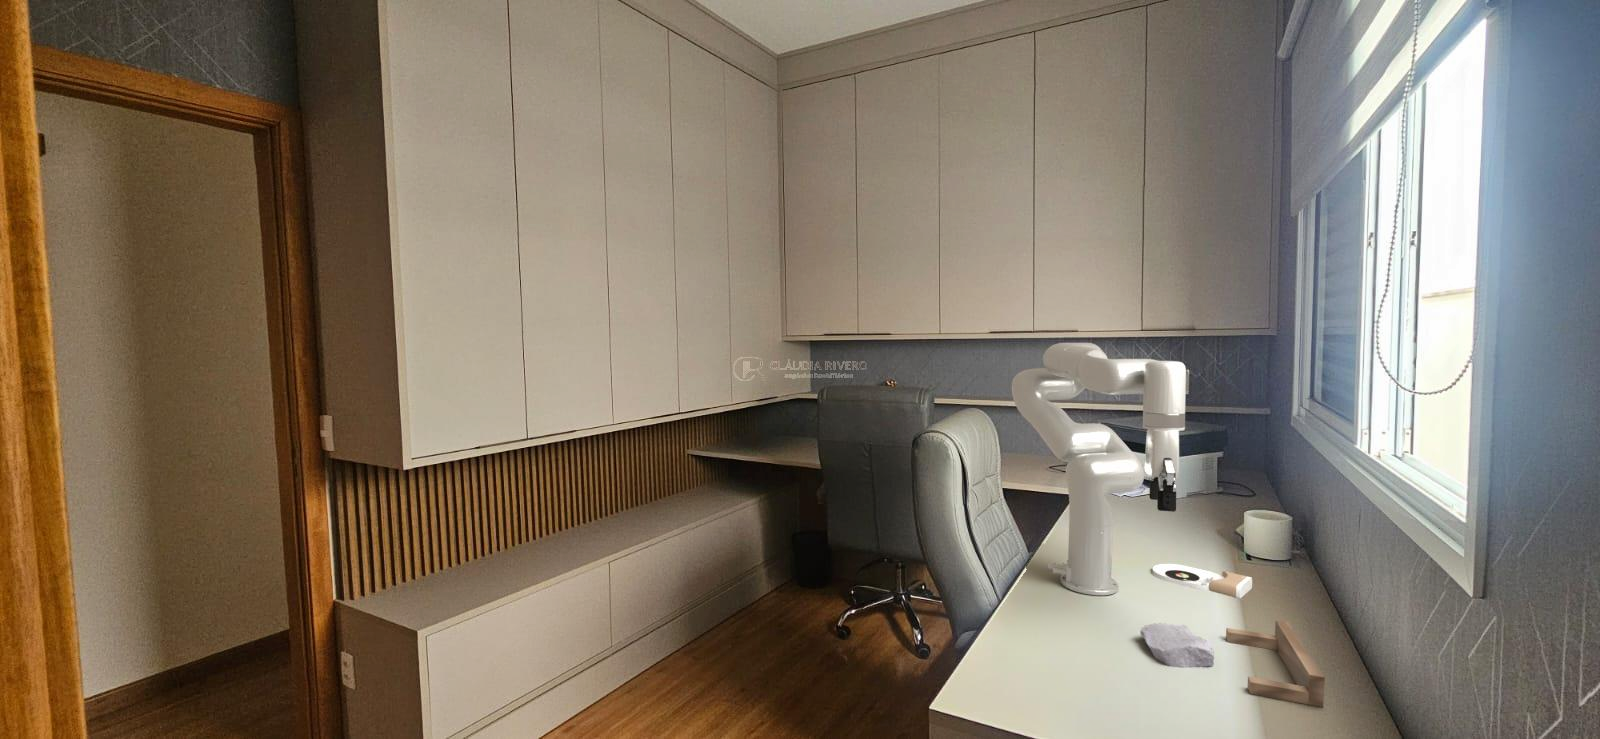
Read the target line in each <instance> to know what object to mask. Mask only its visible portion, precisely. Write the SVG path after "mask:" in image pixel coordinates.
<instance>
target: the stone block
mask: <svg viewBox="0 0 1600 739" xmlns="http://www.w3.org/2000/svg"><path fill="white" fill-rule="evenodd" d="M1139 630H1140V635H1141V636H1142V638H1143V639H1144V642H1145V643H1146V645H1147V646H1148V648H1149V650H1150V652H1151V653H1152V655H1153V657H1154V658H1155V659H1156V660H1157V661H1160V662H1161V663H1163V664H1165V665H1167V666H1169V667H1173V668H1182V669H1183V668H1184V669H1186V668H1194V667H1195V668H1204V667H1206V668H1208V667H1209V668H1211V667H1213V666H1214V665H1215V662H1214V661H1215V651H1214V648H1213V646H1212V645H1211V644H1210V642H1209V641H1207V640H1206V639H1205V638H1203V637H1202V636H1197V635H1196V634H1194V633H1193V632H1192V631H1190V629H1189V626H1187V625H1185V624H1181V625H1179V624H1177V625H1176V624H1173V623H1172V624H1171V623H1165V622H1162V623H1161V622H1158V623H1157V622H1155V623H1151V624H1147V625H1144V626H1142V627H1141V628H1140V629H1139Z"/></svg>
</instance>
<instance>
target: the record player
mask: <svg viewBox="0 0 1600 739" xmlns="http://www.w3.org/2000/svg"><path fill="white" fill-rule="evenodd" d="M1152 575H1153V576H1155V578H1158V579H1160V580H1162V581H1165V582H1169V583H1172V584H1176V585H1179V586H1182V587H1186V588H1190V589H1191V588H1192V589H1196V590H1200V591H1210V592H1213V593H1218V594H1220V595H1221V594H1222V595H1225V596H1228V597H1233V598H1236V599H1242V597H1244V596H1246V594H1247V593H1248V592H1249V591H1251V589H1253V588H1252V587H1253V577H1250V576H1247V575H1243V574H1238V573H1234V572H1230V571H1226V570H1225V571H1224V570H1223V571H1222V572H1221V575H1220V574H1218V573H1216V572H1213V571H1210V570H1204V569H1200V568H1196V567H1193V566H1192V567H1191V566H1188V565H1184V564H1183V565H1182V564H1176V563H1160V564H1156V565H1154V566H1153V567H1152Z"/></svg>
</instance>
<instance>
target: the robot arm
mask: <svg viewBox="0 0 1600 739" xmlns="http://www.w3.org/2000/svg"><path fill="white" fill-rule="evenodd" d="M1042 361H1043V365H1044V368H1041V367H1039V368H1038V367H1036V368H1029V369H1025V370H1024V369H1023V370H1022V371H1020V372H1018V373H1017V374H1015V375H1014V377H1013V379H1012V382H1011V395H1012V398H1013V399H1012V400H1013V402H1014V405H1015V407H1016V409H1017V411H1018V412H1019V413H1020V415H1021V416H1022V417H1023V418H1024V419H1026V421H1027V422H1028V423H1029V424H1030V425H1031V427H1033V428H1034V429H1035V431H1037V433H1038V435H1039V436H1040V437H1041V439H1042V440H1043V441H1044V443H1045V444H1046V446H1047V447H1048V448H1049V450H1051V453H1053V455H1054V456H1055V457H1056V458H1057V459H1058V460H1060V461H1061V462H1064V463H1067V465H1066V468H1065V479H1066V480H1065V481H1066V484H1067V491H1068V498H1069V499H1068V502H1069V504H1068V505H1069V506H1068V508H1069V509H1068V510H1069V511H1068V512H1069V513H1068V546H1067V547H1068V552H1067V555H1068V557H1067V560H1066V563H1065V562H1064V563H1063V562H1062V563H1056V562H1048V564H1047V570H1048V571H1052V574H1053V575H1061V576H1060V583H1061V585H1062V586H1064V587H1065V588H1067V589H1069V590H1071V591H1074V592H1076V593H1080V594H1083V595H1084V594H1085V595H1091V596H1108V595H1114V594H1116V593H1117V592H1118V591H1119V584H1118V582H1117V581H1116V580H1115V579H1113V578H1112V572H1113V571H1112V569H1113V568H1112V567H1113V566H1112V564H1113V535H1114V512H1113V510H1112V507H1111V505H1110V503H1109V502H1108V499H1107V498H1106V495H1110V494H1123V493H1130V492H1134V491H1136V490H1138V489H1139V488H1140V487H1141V486H1142V484H1143V483H1144V479H1145V473H1146V474H1147V475H1148V476H1149V477H1150V480H1149V499H1150V500H1152V501H1153V500H1154V501H1157V504H1156V505H1157V506H1156V507H1157V510H1158V511H1161V512H1172V513H1174V512H1176V510H1177V486H1176V480H1177V479H1179V472H1180V432H1181V431H1185V429H1186V391H1187V390H1186V389H1187V388H1186V385H1187V380H1186V379H1187V373H1186V372H1187V371H1186V370H1187V369H1186V365H1185V364H1184V363H1183V362H1181V361H1176V360H1157V359H1152V358H1116V359H1115V358H1108V356H1107V355H1106V353H1105V352H1104V351H1103V349H1101V347H1100V346H1099V345H1097V344H1095V343H1092V342H1059V343H1054V344H1053V345H1050V346H1049V347H1048V348H1047V349H1046V350H1045V352H1044V354H1043V358H1042ZM1085 389H1087V390H1090V391H1093V392H1097V393H1100V394H1105V395H1113V396H1114V395H1142V396H1143V398H1142V399H1143V400H1142V405H1143V406H1142V428H1143V429H1146V430H1147V431H1146V437H1145V438H1146V439H1145V456H1144V457H1145V458H1144V468H1143V466H1142V464H1141V462H1140V460H1139V458H1138V457H1137V455H1136V454H1135V453H1134V452H1133V451H1132V450H1131V449H1130V448H1129V447H1128V445H1127V444H1126V443H1125V442H1124V441H1123V440H1122V439H1121V438H1120V437H1119V435H1118V434H1117V433H1116V432H1115V431H1114V430H1113V429H1112V428H1111V427H1109V426H1107V425H1105V424H1102V423H1097V422H1096V423H1094V422H1093V423H1092V422H1091V423H1089V422H1088V423H1078V422H1075V421H1074V420H1072V418H1071V417H1069V415H1068V414H1067V412H1066V411H1064V409H1062V408H1061V407H1060V406H1059V405H1057V404H1055V403H1053V402H1051V401H1058V400H1059V401H1060V400H1062V401H1064V400H1065V401H1066V400H1071V399H1073V398H1076V397H1077V396H1079V395H1080V393H1082V392H1083V391H1084V390H1085ZM1144 471H1145V473H1144Z"/></svg>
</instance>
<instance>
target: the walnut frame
mask: <svg viewBox="0 0 1600 739" xmlns="http://www.w3.org/2000/svg"><path fill="white" fill-rule="evenodd" d="M1274 626H1275V627H1274V629H1275V630H1274V634H1268V633H1261V632H1254V631H1247V630H1242V629H1236V628H1229V627H1226V629H1225V630H1226V632H1225V639H1226V641H1227V643H1231V644H1238V645H1245V646H1249V647H1250V646H1251V647H1256V648H1262V649H1268V650H1276V651H1277V653H1278V655H1279V656H1280V659H1282V661H1283V663H1284V665H1285V666H1286V668H1287V671H1288V672H1289V673H1290V676H1291V677H1292V679H1293V680H1294V682H1295V684H1293V683H1287V682H1282V681H1276V680H1275V681H1274V680H1269V679H1265V678H1260V677H1254V676H1247V690H1248V692H1249V694H1251V695H1255V696H1261V697H1267V698H1272V699H1277V700H1281V701H1288V702H1294V703H1299V704H1305V705H1308V706H1315V707H1319V708H1320V707H1321V708H1324V701H1325V700H1324V699H1325V697H1324V696H1325V682H1326V681H1325V680H1326V677H1325V676H1324V674H1323V673H1322V671H1321V669H1320V668H1319V666H1318V665H1317V664H1316V662H1315V660H1314V659H1313V657H1312V656H1311V654H1310V653H1309V651H1308V650H1307V649H1306V646H1305V645H1304V644H1303V642H1302V641H1301V639H1300V638H1299V636H1298V634H1297V633H1296V632H1295V630H1294V629H1293V627H1292V625H1291V623H1289V621H1285V620H1284V621H1282V620H1275V624H1274Z"/></svg>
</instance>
